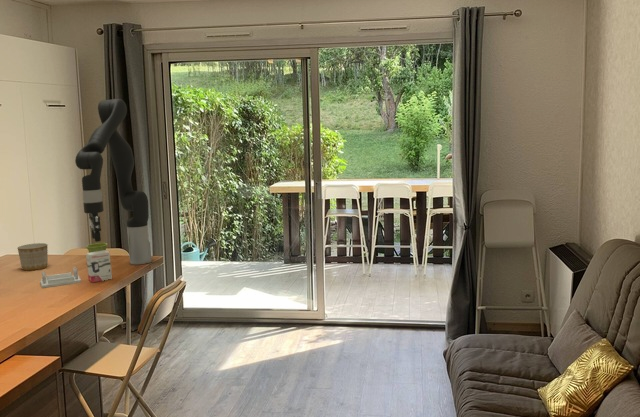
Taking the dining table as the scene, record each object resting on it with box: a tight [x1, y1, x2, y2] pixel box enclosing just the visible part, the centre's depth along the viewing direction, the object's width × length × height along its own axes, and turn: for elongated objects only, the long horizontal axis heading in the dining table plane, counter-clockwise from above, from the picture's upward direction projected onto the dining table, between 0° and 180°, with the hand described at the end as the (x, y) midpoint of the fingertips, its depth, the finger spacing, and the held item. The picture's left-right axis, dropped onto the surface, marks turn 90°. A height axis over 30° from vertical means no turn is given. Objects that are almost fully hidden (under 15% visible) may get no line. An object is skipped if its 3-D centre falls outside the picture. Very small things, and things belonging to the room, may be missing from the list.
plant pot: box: [86, 242, 108, 253], centre depth 305 cm, size 9×9×9 cm
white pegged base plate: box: [39, 266, 82, 289], centre depth 270 cm, size 15×11×5 cm
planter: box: [17, 242, 49, 271], centre depth 300 cm, size 13×13×10 cm
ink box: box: [85, 249, 113, 283], centre depth 271 cm, size 8×5×12 cm, turn 123°
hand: (96, 239), depth 269 cm, fingers open, 8 cm apart
